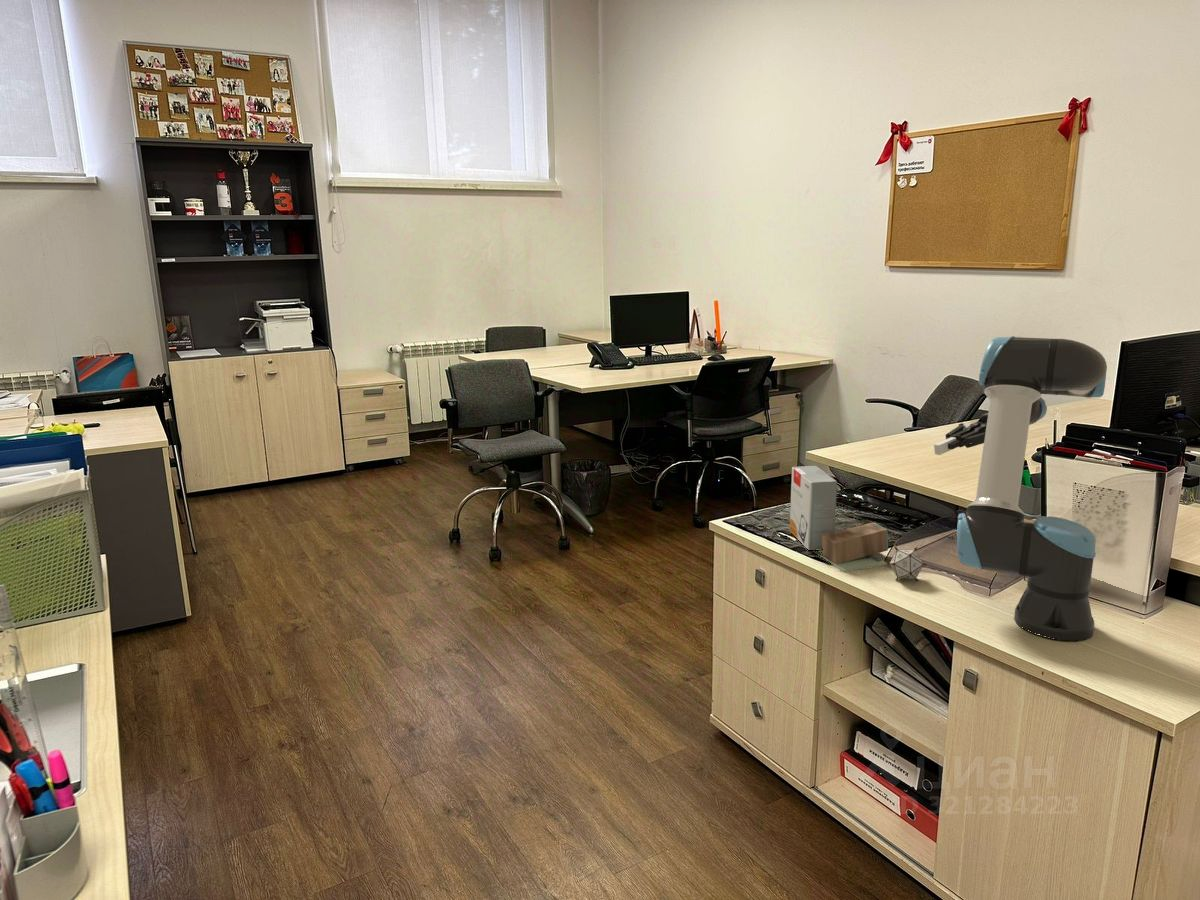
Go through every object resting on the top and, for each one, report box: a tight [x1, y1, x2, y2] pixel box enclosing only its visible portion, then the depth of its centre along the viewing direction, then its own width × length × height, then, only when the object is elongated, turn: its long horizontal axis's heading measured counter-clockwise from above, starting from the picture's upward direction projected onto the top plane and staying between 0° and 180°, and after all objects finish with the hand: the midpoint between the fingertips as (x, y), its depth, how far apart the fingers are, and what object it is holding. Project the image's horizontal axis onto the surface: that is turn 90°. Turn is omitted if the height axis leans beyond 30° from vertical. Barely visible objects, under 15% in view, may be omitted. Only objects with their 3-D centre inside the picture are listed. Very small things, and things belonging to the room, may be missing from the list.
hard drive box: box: [789, 465, 838, 551], centre depth 225 cm, size 16×8×20 cm, turn 6°
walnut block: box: [822, 522, 889, 564], centre depth 214 cm, size 6×6×16 cm
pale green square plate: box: [816, 550, 888, 573], centre depth 214 cm, size 14×13×2 cm
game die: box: [886, 546, 928, 582], centre depth 200 cm, size 9×8×10 cm
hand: (936, 449), depth 211 cm, fingers closed
